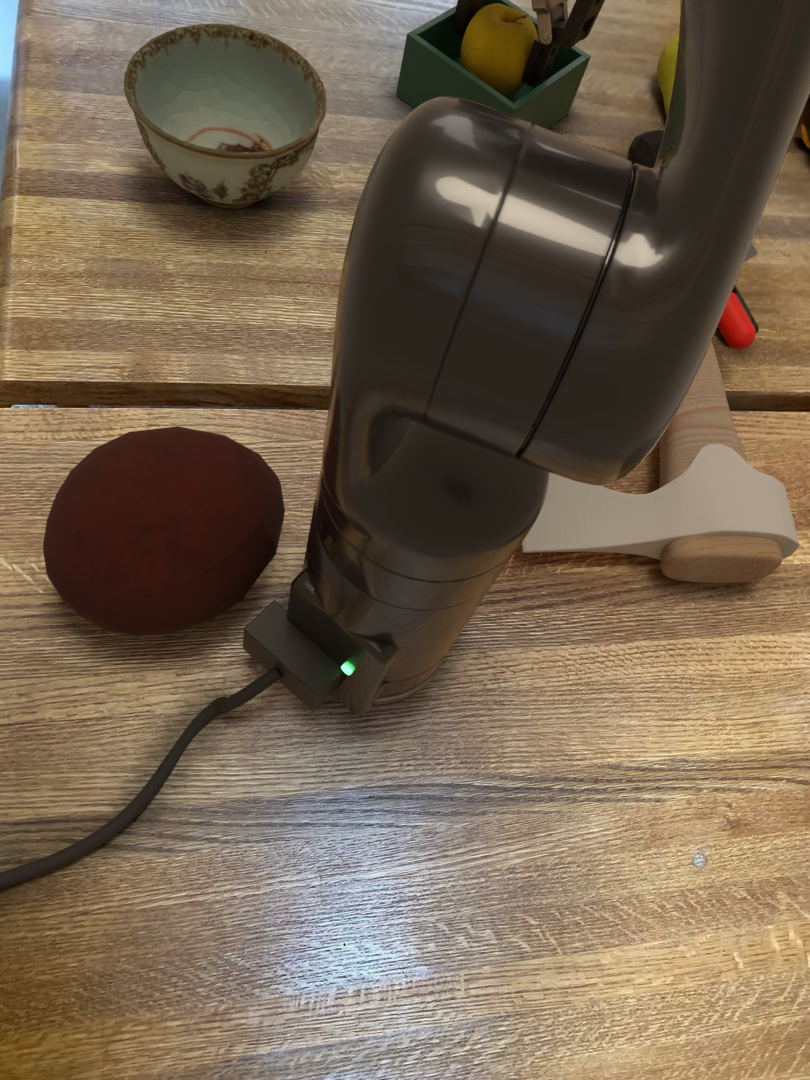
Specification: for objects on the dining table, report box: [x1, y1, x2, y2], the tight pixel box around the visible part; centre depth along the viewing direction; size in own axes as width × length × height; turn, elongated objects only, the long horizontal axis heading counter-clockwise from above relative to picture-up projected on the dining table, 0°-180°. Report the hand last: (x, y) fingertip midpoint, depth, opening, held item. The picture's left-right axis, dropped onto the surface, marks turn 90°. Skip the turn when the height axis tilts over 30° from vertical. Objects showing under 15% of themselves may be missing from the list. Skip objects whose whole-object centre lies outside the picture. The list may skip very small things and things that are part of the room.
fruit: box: [656, 32, 679, 117], centre depth 78 cm, size 6×6×12 cm
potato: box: [42, 425, 286, 637], centre depth 46 cm, size 11×13×10 cm
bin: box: [395, 0, 591, 129], centre depth 73 cm, size 11×11×6 cm
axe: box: [521, 341, 800, 584], centre depth 61 cm, size 18×5×30 cm
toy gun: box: [717, 241, 760, 350], centre depth 63 cm, size 10×12×5 cm
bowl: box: [123, 23, 327, 210], centre depth 62 cm, size 14×14×8 cm
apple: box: [461, 3, 538, 100], centre depth 71 cm, size 6×6×8 cm
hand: (498, 55), depth 71 cm, fingers closed on apple, 6 cm apart
